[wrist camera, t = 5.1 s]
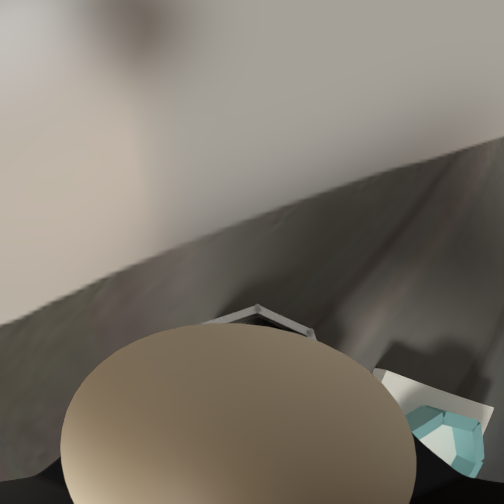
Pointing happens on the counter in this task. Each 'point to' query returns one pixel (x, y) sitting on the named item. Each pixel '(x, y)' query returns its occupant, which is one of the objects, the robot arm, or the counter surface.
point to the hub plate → (438, 398)
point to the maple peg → (235, 424)
